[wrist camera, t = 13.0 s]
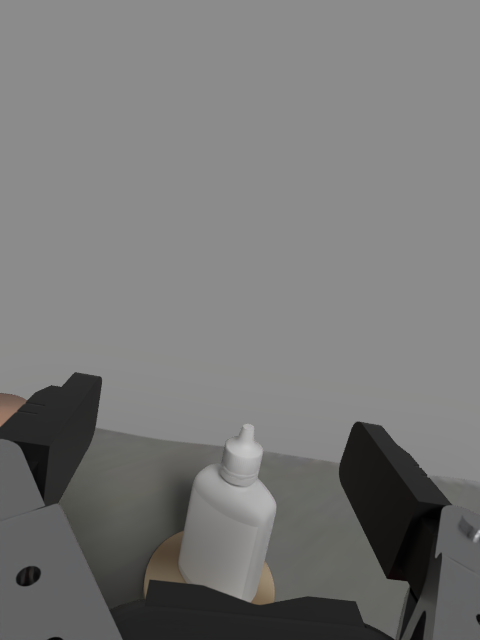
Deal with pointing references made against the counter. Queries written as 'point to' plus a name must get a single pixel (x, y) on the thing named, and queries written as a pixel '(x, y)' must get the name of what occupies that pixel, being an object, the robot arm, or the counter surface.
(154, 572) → the cork coaster
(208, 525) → the eye dropper bottle
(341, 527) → the counter surface
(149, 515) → the counter surface
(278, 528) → the counter surface
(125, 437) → the counter surface
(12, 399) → the domed peg
